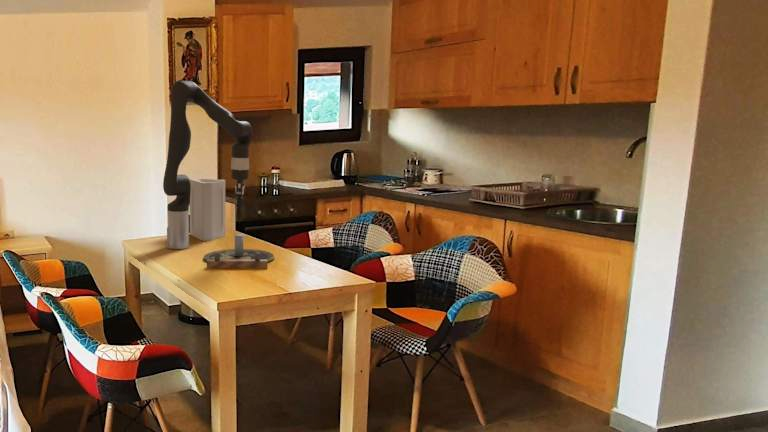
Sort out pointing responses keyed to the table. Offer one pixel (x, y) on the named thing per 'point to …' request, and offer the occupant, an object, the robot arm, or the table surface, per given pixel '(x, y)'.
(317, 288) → the table surface
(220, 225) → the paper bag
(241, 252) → the dowel
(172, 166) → the robot arm
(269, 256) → the decorative plate
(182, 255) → the table surface
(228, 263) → the bench stop
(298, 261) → the table surface
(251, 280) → the table surface
